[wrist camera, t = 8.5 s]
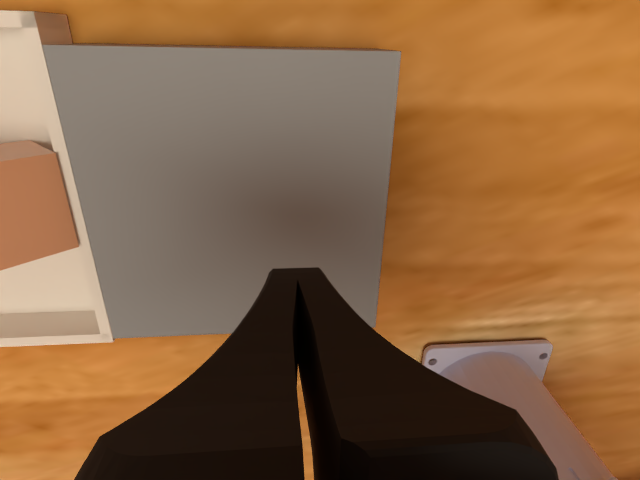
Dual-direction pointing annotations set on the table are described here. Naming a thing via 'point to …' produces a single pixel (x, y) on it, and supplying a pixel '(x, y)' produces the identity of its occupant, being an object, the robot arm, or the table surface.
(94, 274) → the tray
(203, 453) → the robot arm
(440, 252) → the table surface
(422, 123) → the table surface
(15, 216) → the orange brown block
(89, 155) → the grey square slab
